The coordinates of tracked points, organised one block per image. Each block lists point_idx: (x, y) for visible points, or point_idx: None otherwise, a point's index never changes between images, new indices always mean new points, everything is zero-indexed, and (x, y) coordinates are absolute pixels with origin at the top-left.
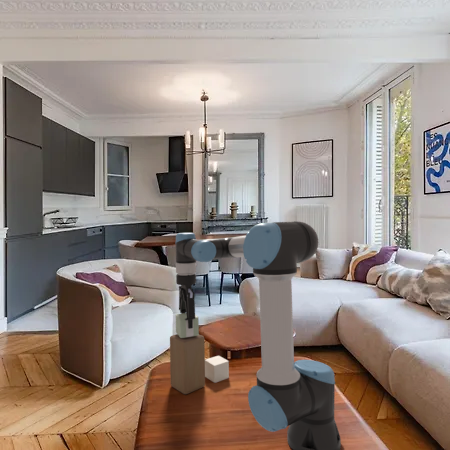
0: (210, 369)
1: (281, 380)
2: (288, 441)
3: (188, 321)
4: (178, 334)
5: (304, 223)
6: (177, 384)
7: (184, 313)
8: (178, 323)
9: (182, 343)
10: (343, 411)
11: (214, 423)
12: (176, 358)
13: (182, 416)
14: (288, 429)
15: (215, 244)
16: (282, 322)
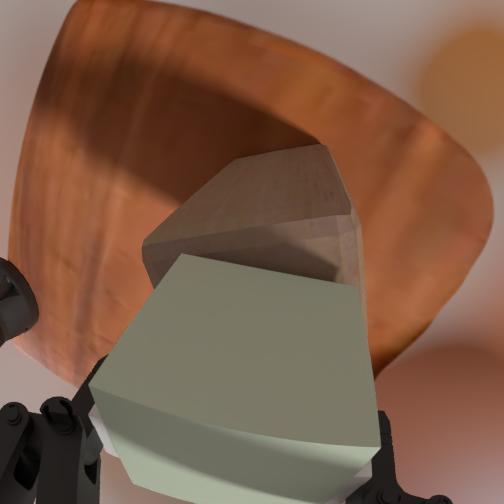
0: None
1: None
2: (5, 263)
3: (89, 407)
4: (255, 273)
5: None
6: (271, 154)
7: (324, 495)
8: (222, 351)
9: (157, 235)
10: (68, 376)
11: (72, 176)
12: (259, 179)
13: (124, 110)
14: (8, 278)
15: None
16: None
